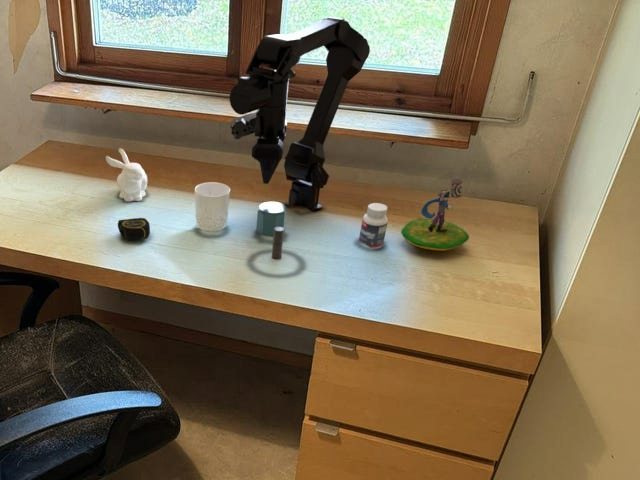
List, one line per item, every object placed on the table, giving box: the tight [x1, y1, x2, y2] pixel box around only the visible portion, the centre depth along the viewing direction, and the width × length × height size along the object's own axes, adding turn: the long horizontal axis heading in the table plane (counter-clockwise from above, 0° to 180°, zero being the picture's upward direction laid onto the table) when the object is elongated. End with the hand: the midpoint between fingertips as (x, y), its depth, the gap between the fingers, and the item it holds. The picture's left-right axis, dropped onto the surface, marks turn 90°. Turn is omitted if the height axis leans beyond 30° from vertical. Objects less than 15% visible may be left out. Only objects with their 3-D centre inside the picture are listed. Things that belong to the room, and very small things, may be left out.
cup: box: [255, 201, 288, 238], centre depth 153 cm, size 6×6×7 cm
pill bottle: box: [358, 202, 389, 250], centre depth 148 cm, size 5×5×9 cm
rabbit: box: [105, 147, 149, 203], centre depth 171 cm, size 12×9×12 cm
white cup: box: [194, 181, 231, 232], centre depth 155 cm, size 8×8×10 cm
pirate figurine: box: [400, 178, 470, 251], centre depth 145 cm, size 14×13×15 cm
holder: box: [271, 227, 285, 261], centre depth 142 cm, size 11×11×8 cm
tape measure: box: [117, 217, 151, 242], centre depth 154 cm, size 7×7×4 cm
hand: (267, 175), depth 152 cm, fingers open, 9 cm apart
